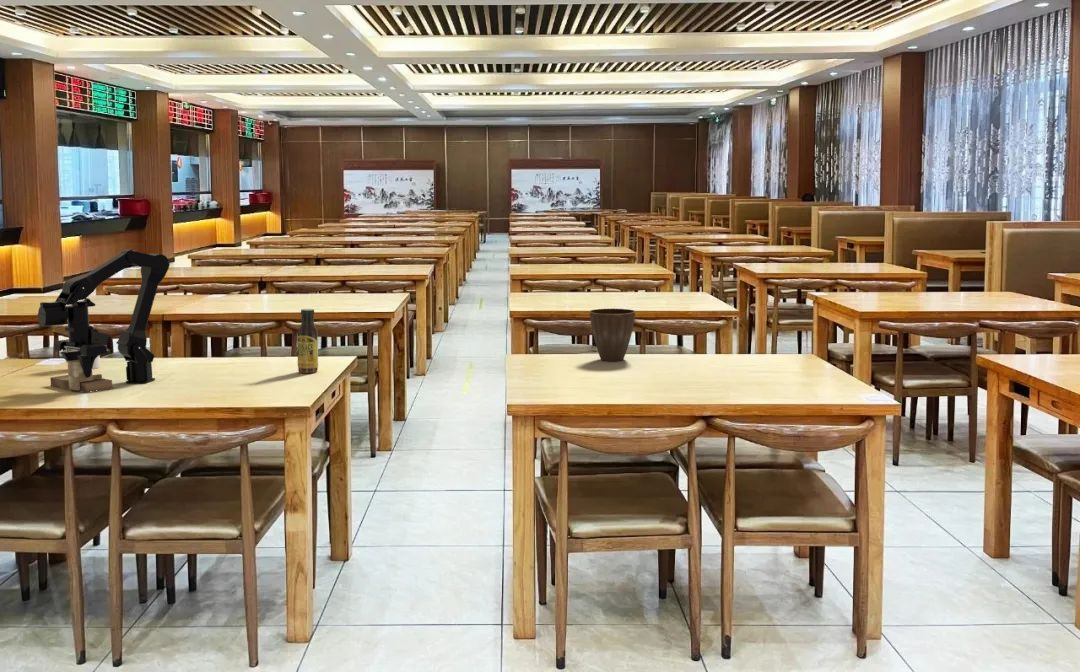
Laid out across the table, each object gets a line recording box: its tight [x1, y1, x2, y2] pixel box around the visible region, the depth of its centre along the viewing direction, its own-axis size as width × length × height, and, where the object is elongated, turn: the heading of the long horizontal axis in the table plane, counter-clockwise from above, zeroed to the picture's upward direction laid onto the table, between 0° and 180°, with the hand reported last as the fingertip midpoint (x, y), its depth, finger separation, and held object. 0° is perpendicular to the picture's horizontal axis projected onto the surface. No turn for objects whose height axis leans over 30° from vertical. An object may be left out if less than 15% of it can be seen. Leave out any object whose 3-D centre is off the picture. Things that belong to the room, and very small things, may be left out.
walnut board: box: [49, 374, 113, 393], centre depth 320 cm, size 20×8×3 cm, turn 52°
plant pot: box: [589, 308, 636, 362], centre depth 354 cm, size 15×15×16 cm
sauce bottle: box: [297, 308, 319, 374], centre depth 339 cm, size 6×6×20 cm
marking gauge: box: [66, 360, 103, 391], centre depth 316 cm, size 4×9×8 cm, turn 142°
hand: (82, 376), depth 315 cm, fingers open, 6 cm apart
